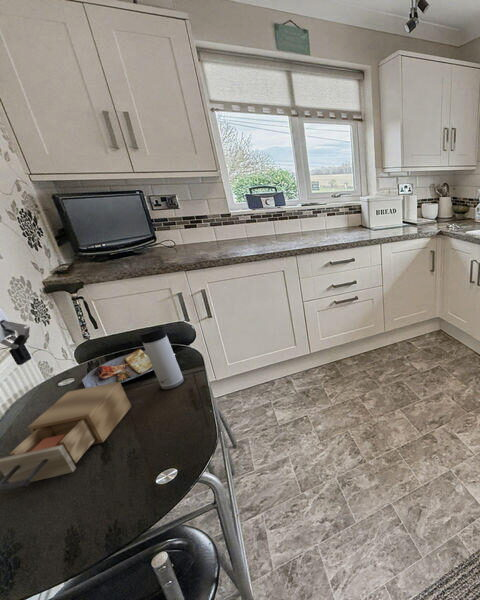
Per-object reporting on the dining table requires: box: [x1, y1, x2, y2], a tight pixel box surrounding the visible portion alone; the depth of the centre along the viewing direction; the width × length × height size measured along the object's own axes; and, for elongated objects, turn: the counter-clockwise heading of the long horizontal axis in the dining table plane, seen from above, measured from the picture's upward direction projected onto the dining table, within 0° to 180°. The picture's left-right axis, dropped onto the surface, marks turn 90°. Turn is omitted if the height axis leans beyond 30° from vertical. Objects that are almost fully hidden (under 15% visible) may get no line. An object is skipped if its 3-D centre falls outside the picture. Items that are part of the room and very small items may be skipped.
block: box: [31, 434, 66, 452], centre depth 76 cm, size 4×4×4 cm
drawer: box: [0, 418, 97, 493], centre depth 74 cm, size 20×11×7 cm, turn 15°
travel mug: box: [139, 326, 185, 390], centre depth 102 cm, size 6×7×20 cm
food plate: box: [81, 348, 154, 389], centre depth 115 cm, size 25×23×4 cm
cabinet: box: [27, 382, 132, 446], centre depth 87 cm, size 15×13×9 cm
